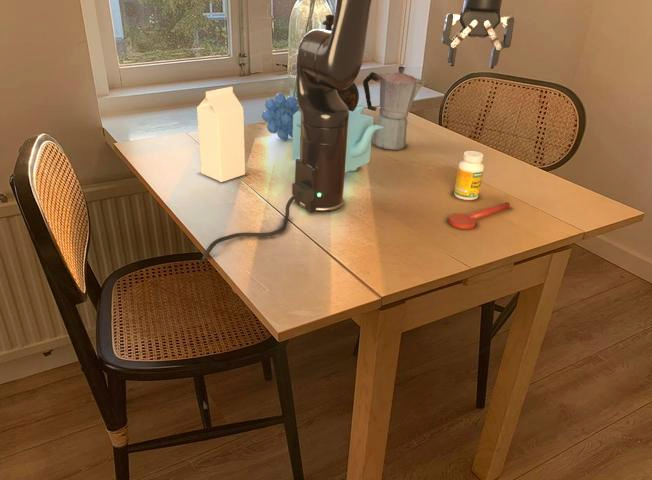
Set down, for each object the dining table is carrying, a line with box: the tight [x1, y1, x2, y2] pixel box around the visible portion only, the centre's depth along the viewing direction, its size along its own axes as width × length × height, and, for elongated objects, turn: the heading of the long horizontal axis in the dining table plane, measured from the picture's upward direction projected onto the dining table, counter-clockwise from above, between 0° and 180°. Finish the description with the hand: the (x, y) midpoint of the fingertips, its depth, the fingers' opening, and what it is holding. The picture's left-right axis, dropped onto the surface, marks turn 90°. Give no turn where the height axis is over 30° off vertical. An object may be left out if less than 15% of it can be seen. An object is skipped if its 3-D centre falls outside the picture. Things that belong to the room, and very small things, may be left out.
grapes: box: [261, 93, 300, 140], centre depth 151 cm, size 12×7×12 cm, turn 105°
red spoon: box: [448, 201, 511, 230], centre depth 119 cm, size 17×5×1 cm, turn 125°
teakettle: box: [291, 103, 383, 174], centre depth 134 cm, size 19×19×15 cm
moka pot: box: [362, 66, 426, 151], centre depth 149 cm, size 10×15×20 cm, turn 89°
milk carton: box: [196, 86, 246, 183], centre depth 127 cm, size 7×7×19 cm
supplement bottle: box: [453, 150, 485, 201], centre depth 125 cm, size 5×5×10 cm
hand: (471, 66), depth 127 cm, fingers open, 8 cm apart
